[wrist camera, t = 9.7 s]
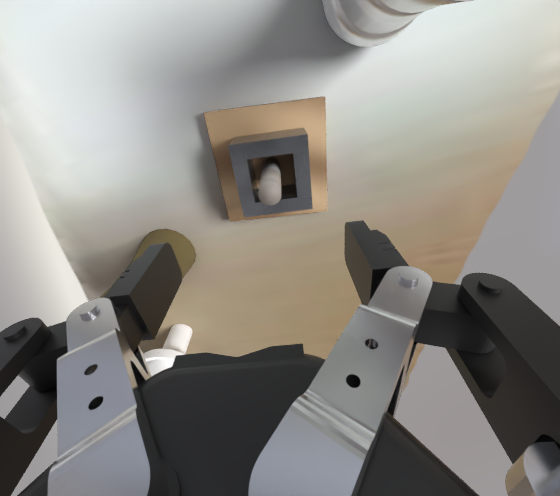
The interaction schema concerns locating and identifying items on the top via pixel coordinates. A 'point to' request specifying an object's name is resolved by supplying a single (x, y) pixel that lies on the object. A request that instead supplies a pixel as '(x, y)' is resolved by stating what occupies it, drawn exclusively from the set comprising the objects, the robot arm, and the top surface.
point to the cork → (179, 245)
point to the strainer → (169, 349)
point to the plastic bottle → (375, 18)
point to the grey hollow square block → (265, 146)
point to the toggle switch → (271, 168)
